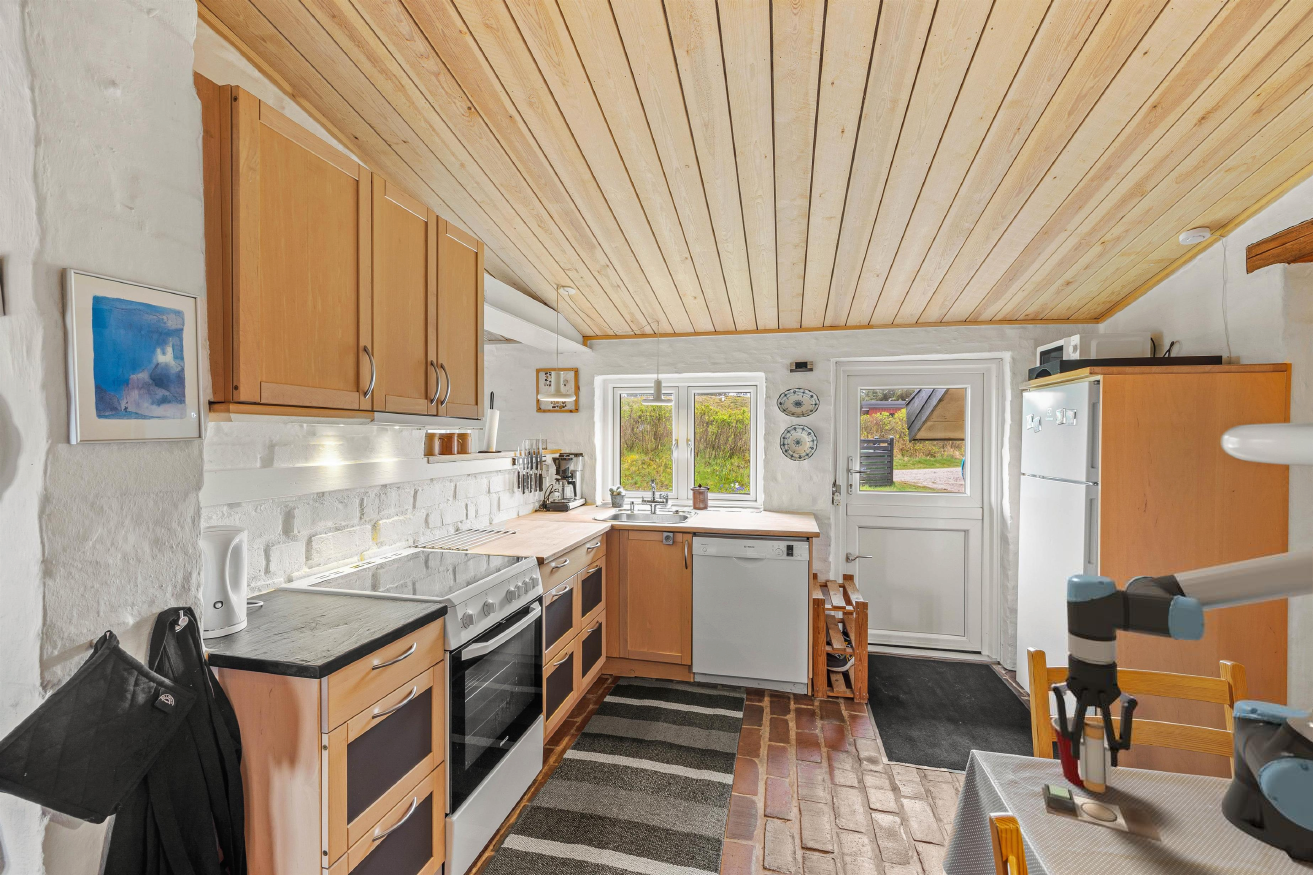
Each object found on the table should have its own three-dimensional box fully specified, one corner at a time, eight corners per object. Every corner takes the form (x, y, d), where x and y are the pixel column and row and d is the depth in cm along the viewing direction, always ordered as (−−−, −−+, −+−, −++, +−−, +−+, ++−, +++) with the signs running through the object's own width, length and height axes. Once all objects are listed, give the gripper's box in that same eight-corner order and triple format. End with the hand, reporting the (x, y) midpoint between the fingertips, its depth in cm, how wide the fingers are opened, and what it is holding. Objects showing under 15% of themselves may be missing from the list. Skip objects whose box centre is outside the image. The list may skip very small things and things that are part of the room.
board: (1147, 817, 109) (1147, 801, 109) (1162, 847, 101) (1162, 830, 101) (1041, 791, 117) (1041, 777, 117) (1047, 817, 109) (1047, 801, 109)
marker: (1103, 784, 110) (1102, 722, 110) (1107, 794, 107) (1105, 730, 107) (1082, 780, 111) (1081, 718, 112) (1085, 789, 109) (1084, 726, 109)
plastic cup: (1128, 803, 113) (1127, 743, 113) (1067, 797, 115) (1066, 738, 115) (1097, 772, 124) (1097, 717, 124) (1042, 766, 126) (1041, 712, 126)
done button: (1067, 798, 112) (1067, 788, 112) (1069, 807, 110) (1069, 797, 110) (1049, 794, 114) (1049, 784, 114) (1051, 803, 111) (1051, 792, 111)
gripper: (1140, 657, 109) (1143, 779, 109) (1039, 644, 116) (1041, 758, 116) (1152, 671, 102) (1155, 802, 102) (1043, 656, 110) (1046, 777, 110)
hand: (1094, 778), depth 109 cm, fingers closed on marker, 3 cm apart
